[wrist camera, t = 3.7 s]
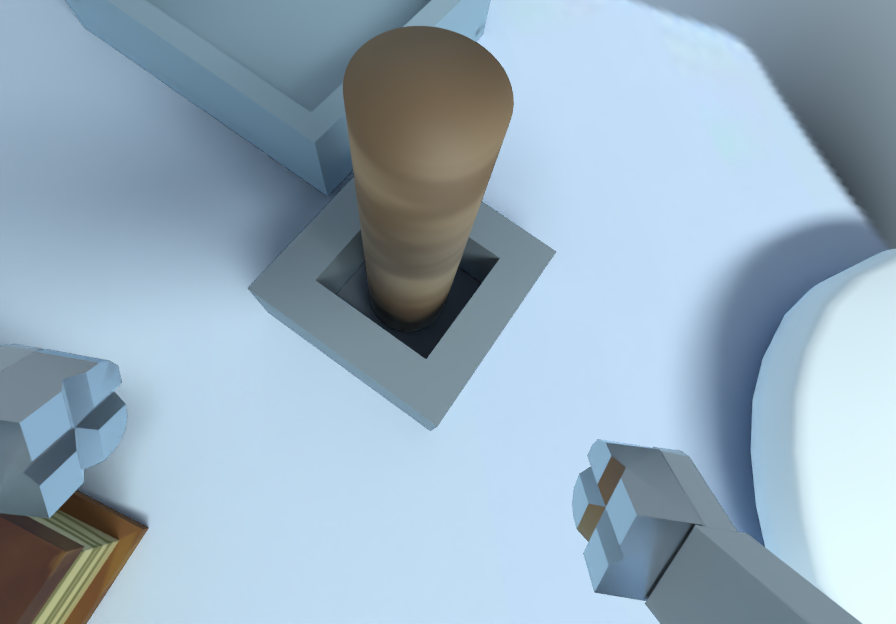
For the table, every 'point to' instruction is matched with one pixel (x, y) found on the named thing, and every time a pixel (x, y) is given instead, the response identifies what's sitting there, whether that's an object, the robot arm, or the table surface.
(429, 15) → the tray
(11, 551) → the diary
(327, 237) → the socket block
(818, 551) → the plate
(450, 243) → the dowel
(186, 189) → the table surface
